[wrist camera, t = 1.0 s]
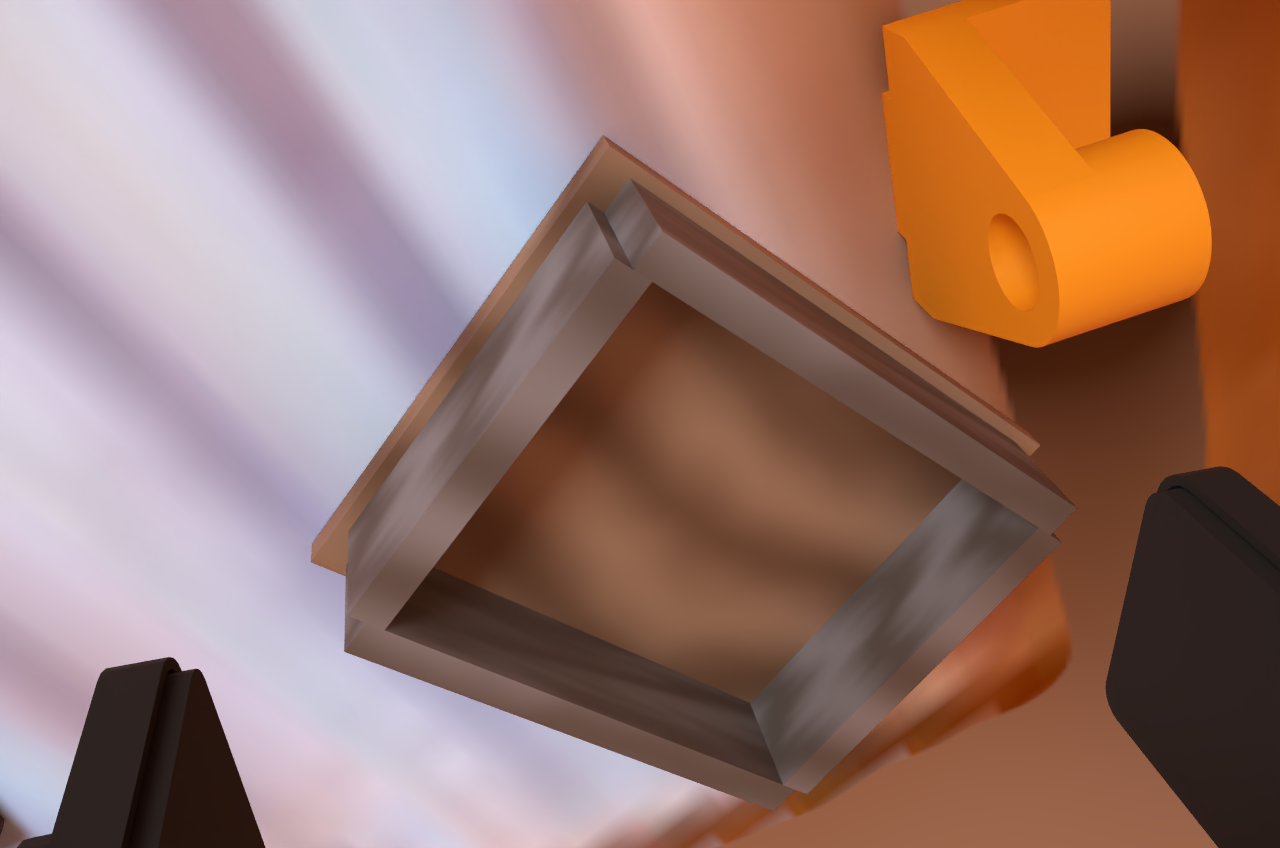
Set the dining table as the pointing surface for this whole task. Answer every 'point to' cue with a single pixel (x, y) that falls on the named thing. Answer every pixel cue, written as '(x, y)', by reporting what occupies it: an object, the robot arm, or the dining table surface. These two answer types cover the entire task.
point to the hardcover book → (1, 824)
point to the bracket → (1031, 175)
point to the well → (684, 501)
